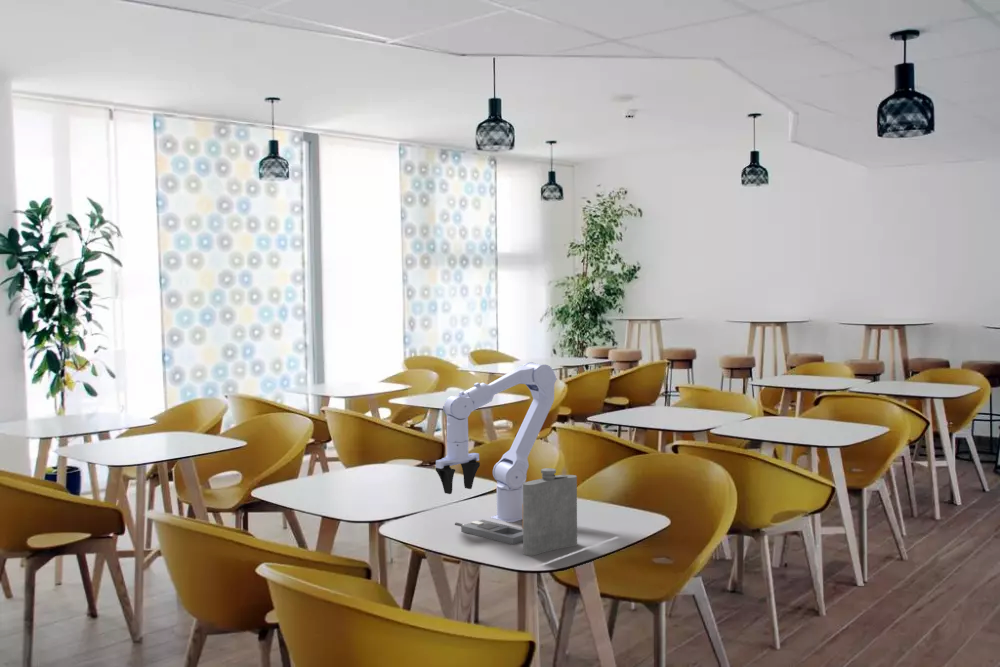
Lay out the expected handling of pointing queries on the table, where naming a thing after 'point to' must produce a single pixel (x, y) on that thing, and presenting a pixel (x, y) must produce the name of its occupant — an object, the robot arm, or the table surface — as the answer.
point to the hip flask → (549, 513)
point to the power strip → (493, 531)
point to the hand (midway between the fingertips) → (458, 490)
